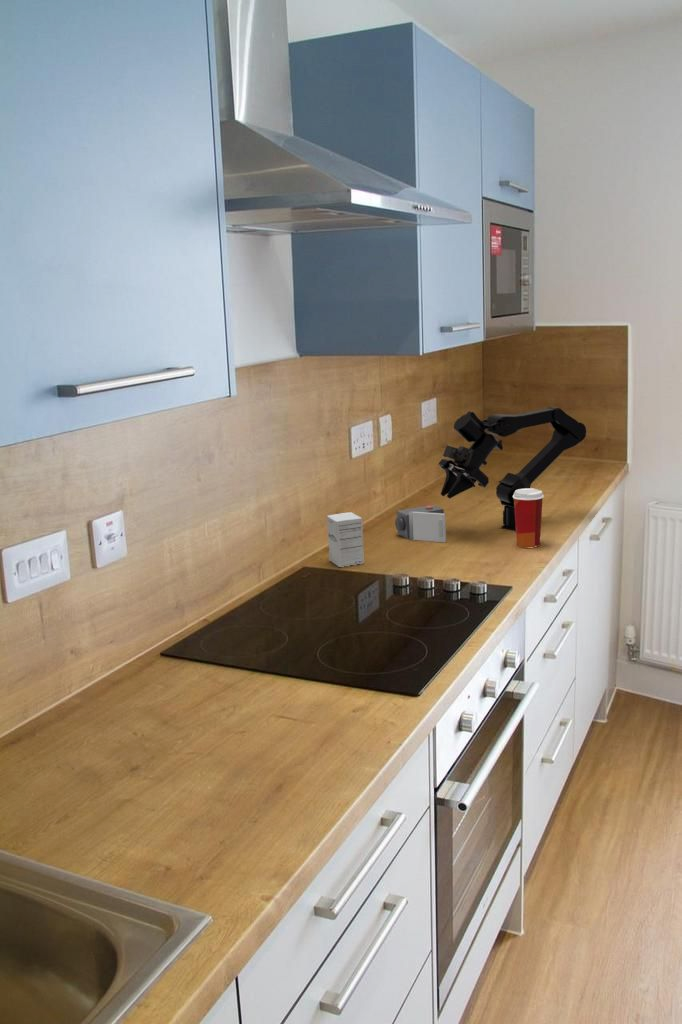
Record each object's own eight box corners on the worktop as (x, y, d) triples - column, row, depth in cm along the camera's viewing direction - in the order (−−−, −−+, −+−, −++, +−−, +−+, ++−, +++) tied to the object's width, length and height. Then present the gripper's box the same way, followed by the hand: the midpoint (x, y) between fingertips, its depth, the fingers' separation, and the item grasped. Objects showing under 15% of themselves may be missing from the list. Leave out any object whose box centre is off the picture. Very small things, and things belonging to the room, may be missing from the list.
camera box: (434, 527, 262) (433, 502, 261) (444, 532, 257) (443, 507, 255) (394, 534, 258) (393, 509, 256) (403, 539, 252) (402, 513, 250)
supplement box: (328, 561, 236) (326, 515, 233) (354, 556, 239) (352, 511, 236) (338, 568, 230) (335, 521, 226) (365, 564, 232) (362, 517, 229)
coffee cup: (532, 539, 246) (532, 486, 242) (550, 546, 238) (550, 492, 234) (506, 543, 243) (506, 490, 239) (523, 551, 235) (522, 496, 232)
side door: (446, 541, 248) (445, 513, 246) (444, 542, 247) (443, 515, 245) (410, 538, 253) (409, 511, 251) (408, 539, 252) (407, 512, 250)
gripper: (443, 430, 253) (410, 473, 251) (478, 438, 236) (443, 485, 235) (467, 454, 258) (435, 496, 256) (503, 464, 241) (469, 509, 239)
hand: (444, 496), depth 246 cm, fingers open, 3 cm apart
